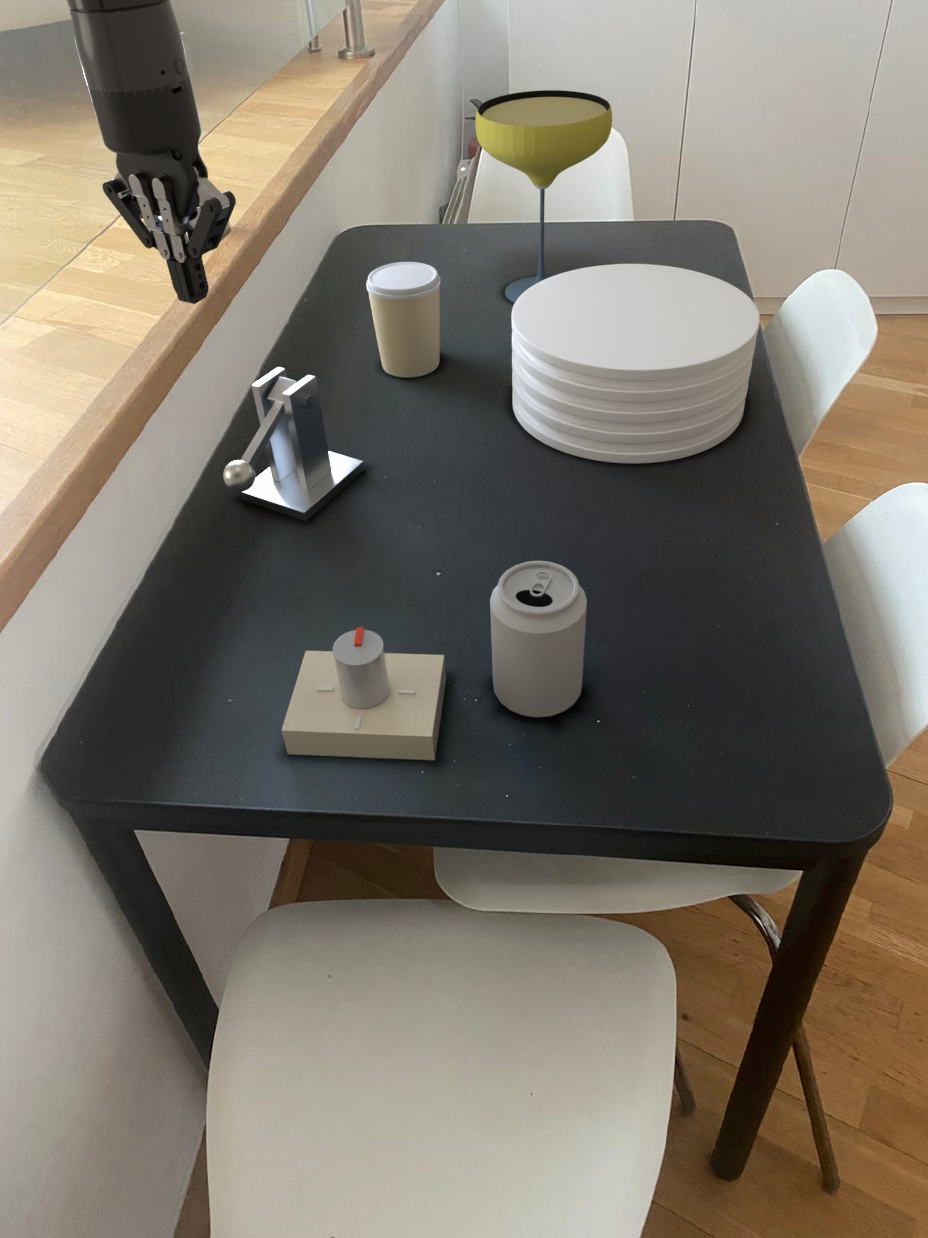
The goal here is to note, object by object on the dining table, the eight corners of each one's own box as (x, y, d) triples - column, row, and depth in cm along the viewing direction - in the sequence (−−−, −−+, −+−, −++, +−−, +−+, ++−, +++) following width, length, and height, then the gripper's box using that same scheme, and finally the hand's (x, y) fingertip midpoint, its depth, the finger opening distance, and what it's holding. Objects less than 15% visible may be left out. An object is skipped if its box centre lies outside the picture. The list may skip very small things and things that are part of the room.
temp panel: (287, 754, 74) (280, 729, 72) (311, 674, 81) (305, 648, 79) (434, 760, 73) (432, 735, 71) (446, 679, 80) (444, 653, 78)
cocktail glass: (457, 290, 140) (447, 107, 123) (548, 258, 147) (551, 82, 130) (533, 330, 129) (534, 135, 112) (627, 293, 136) (642, 106, 119)
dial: (387, 708, 73) (380, 662, 70) (338, 709, 74) (328, 662, 70) (391, 672, 76) (385, 626, 73) (344, 673, 76) (335, 626, 73)
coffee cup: (449, 347, 126) (444, 260, 118) (441, 380, 119) (435, 290, 111) (382, 347, 127) (372, 260, 119) (370, 380, 120) (359, 290, 112)
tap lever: (251, 501, 93) (236, 484, 90) (227, 493, 95) (211, 476, 92) (311, 397, 97) (298, 379, 94) (287, 391, 98) (274, 372, 95)
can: (480, 710, 77) (474, 603, 69) (510, 651, 82) (509, 545, 74) (566, 734, 75) (571, 626, 66) (592, 671, 80) (599, 564, 71)
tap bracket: (306, 521, 98) (284, 415, 89) (241, 499, 101) (214, 395, 93) (364, 469, 104) (350, 366, 96) (302, 451, 108) (282, 349, 99)
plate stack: (656, 493, 99) (668, 396, 91) (465, 410, 113) (461, 321, 105) (786, 391, 113) (805, 301, 105) (602, 329, 128) (607, 246, 120)
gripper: (37, 79, 69) (108, 302, 81) (167, 93, 64) (223, 330, 75) (111, 56, 74) (168, 271, 85) (238, 69, 68) (280, 295, 80)
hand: (194, 299), depth 80 cm, fingers closed
